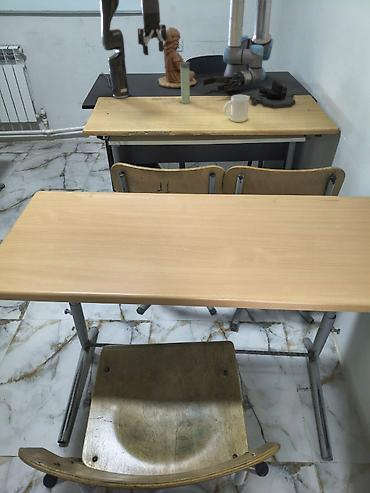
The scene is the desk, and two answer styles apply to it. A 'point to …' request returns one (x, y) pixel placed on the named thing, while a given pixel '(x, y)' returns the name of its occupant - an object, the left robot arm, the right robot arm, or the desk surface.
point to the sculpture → (173, 61)
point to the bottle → (185, 85)
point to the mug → (238, 108)
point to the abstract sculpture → (273, 96)
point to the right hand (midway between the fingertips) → (210, 85)
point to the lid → (184, 64)
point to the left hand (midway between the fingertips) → (153, 53)
